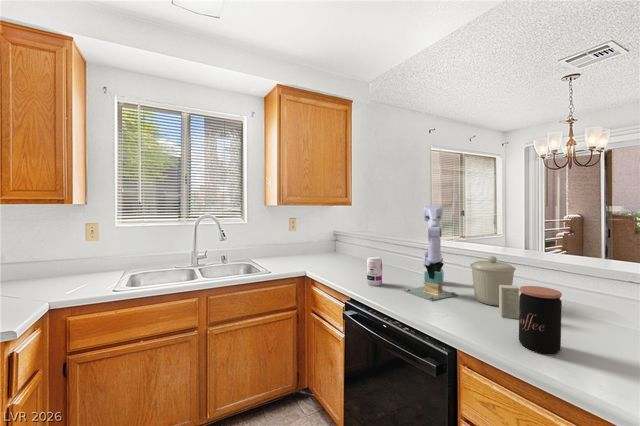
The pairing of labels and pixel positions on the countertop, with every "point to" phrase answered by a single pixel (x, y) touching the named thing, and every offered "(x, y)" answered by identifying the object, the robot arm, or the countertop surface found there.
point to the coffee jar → (540, 319)
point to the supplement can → (374, 271)
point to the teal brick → (434, 277)
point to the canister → (490, 279)
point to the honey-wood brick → (433, 288)
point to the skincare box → (509, 301)
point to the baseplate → (430, 294)
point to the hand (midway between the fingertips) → (434, 277)
